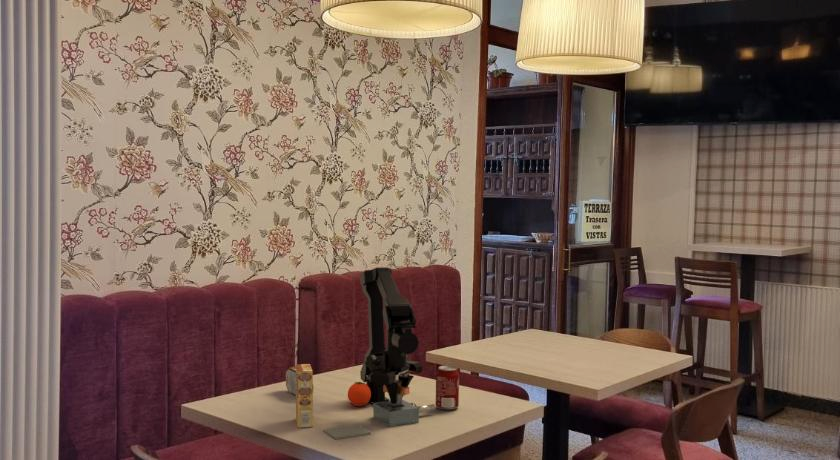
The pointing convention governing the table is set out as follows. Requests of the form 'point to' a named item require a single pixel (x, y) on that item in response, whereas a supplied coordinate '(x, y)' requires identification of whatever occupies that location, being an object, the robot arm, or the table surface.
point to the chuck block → (399, 413)
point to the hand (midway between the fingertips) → (396, 402)
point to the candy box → (304, 395)
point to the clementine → (359, 394)
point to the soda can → (447, 388)
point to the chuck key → (402, 391)
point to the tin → (291, 380)
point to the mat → (346, 431)
